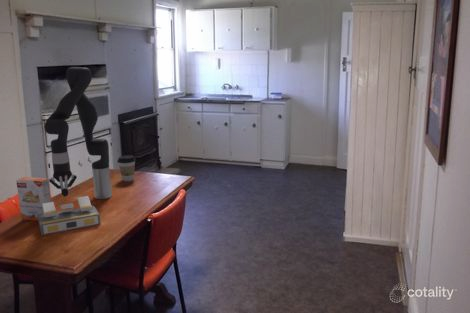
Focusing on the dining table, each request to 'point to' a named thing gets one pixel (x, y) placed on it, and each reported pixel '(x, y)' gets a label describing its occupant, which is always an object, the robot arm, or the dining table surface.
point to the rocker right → (84, 203)
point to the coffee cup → (127, 167)
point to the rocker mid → (67, 206)
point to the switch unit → (68, 220)
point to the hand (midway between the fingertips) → (65, 195)
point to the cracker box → (32, 196)
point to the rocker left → (49, 209)
